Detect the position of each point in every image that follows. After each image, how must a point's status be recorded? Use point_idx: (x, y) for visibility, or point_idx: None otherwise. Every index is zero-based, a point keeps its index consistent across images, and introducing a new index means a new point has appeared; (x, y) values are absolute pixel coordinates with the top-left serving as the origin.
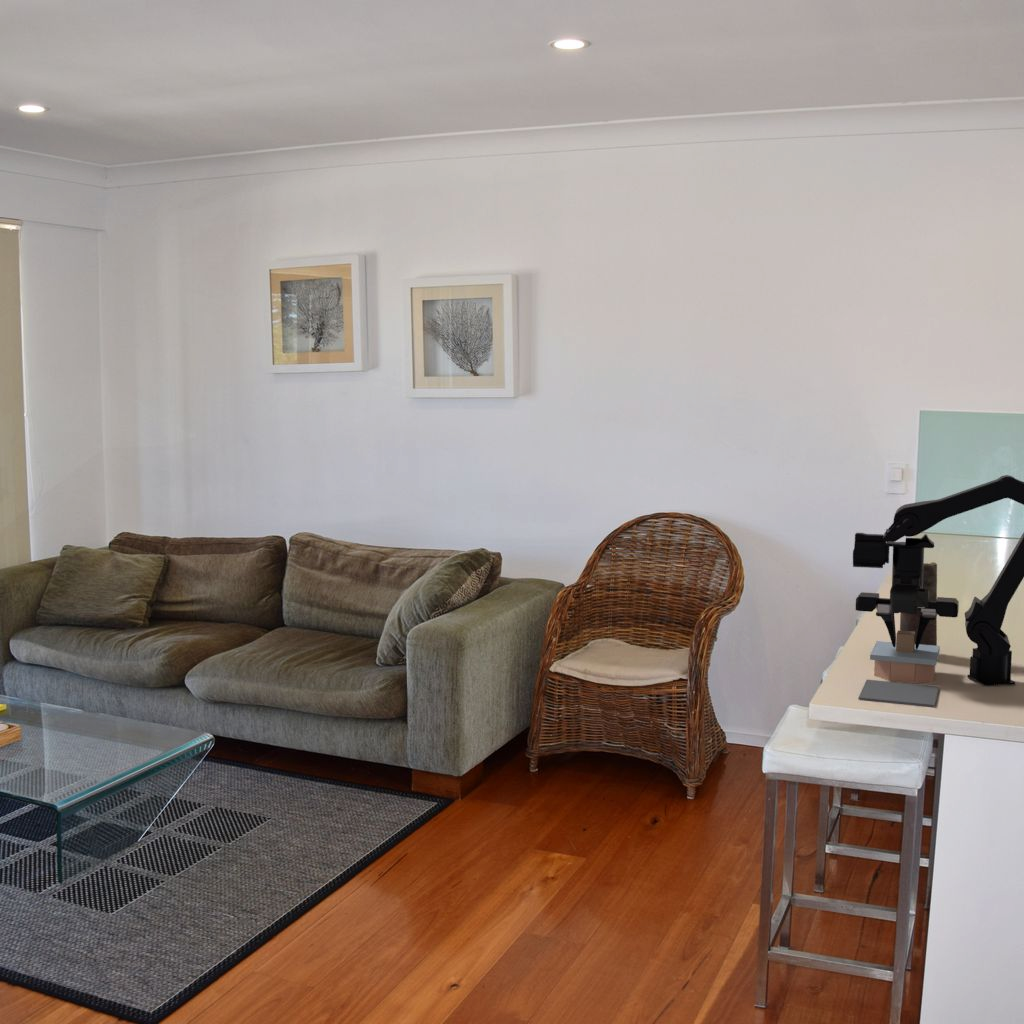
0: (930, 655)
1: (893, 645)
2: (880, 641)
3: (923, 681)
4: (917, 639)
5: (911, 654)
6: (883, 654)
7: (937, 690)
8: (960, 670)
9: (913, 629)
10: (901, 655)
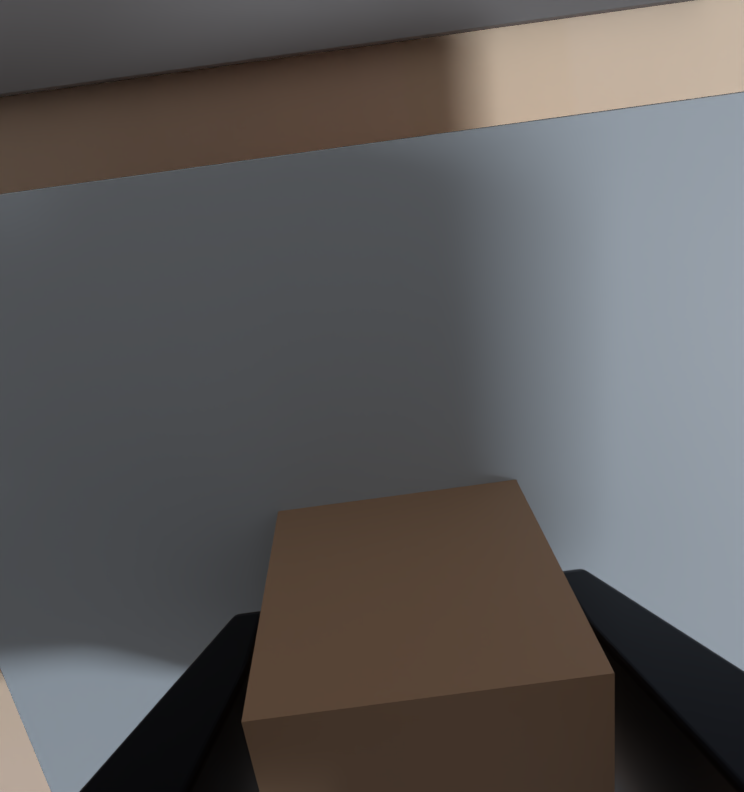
0: (18, 472)
1: (584, 578)
2: None
3: None
4: (206, 705)
5: (276, 406)
6: (675, 199)
7: None
8: (33, 768)
9: None
10: (397, 267)
